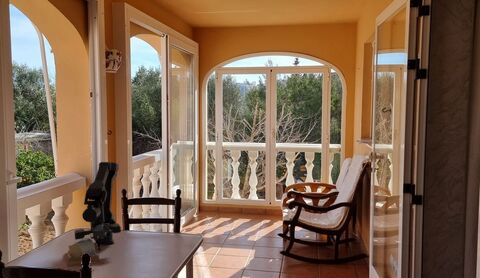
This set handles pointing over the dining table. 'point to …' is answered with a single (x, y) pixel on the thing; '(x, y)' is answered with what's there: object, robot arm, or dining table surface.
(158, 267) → the dining table surface
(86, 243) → the ceramic mug
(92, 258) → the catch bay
